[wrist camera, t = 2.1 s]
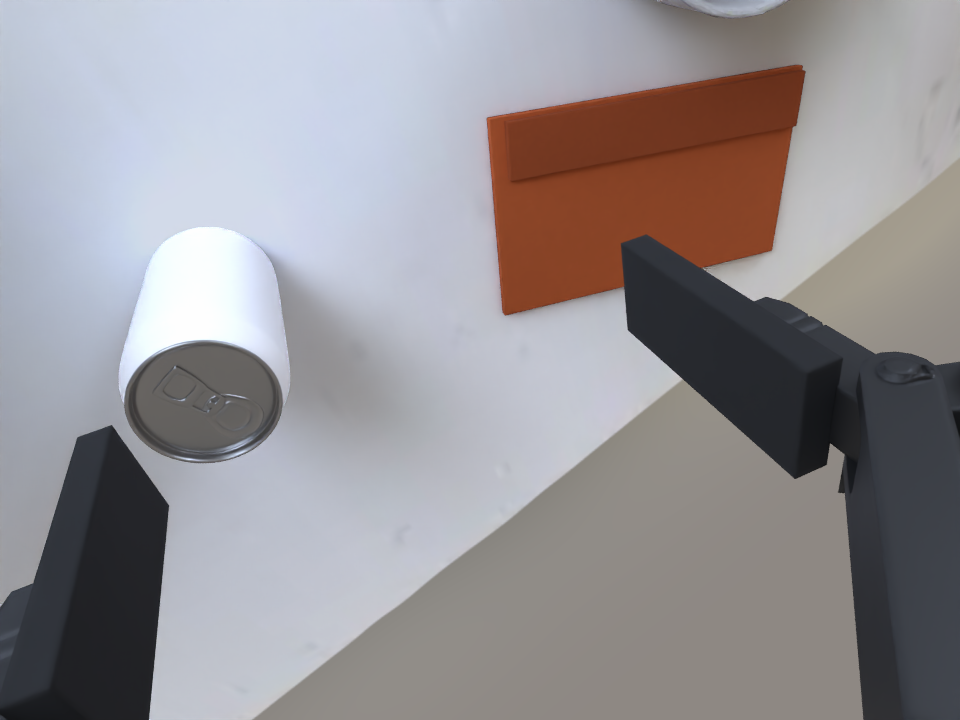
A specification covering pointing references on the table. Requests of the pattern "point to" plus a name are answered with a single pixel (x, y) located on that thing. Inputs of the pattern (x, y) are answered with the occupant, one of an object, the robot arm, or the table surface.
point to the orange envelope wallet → (638, 181)
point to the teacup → (727, 6)
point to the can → (206, 349)
